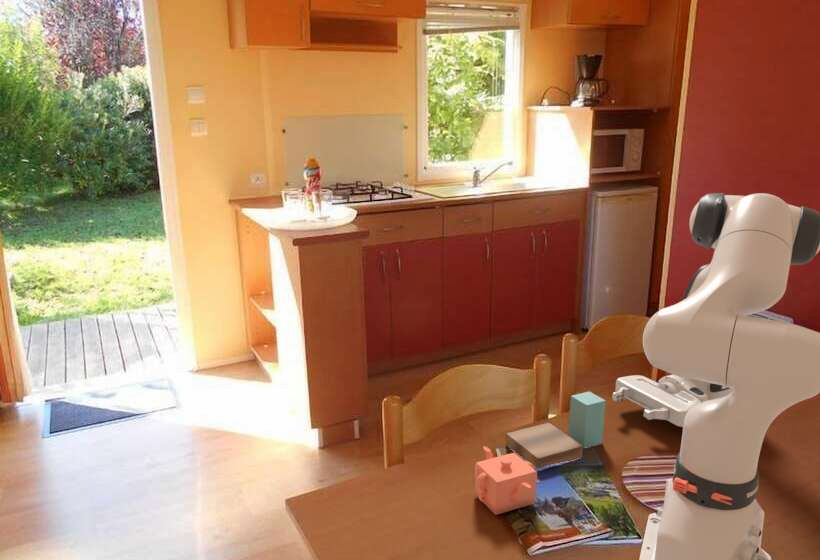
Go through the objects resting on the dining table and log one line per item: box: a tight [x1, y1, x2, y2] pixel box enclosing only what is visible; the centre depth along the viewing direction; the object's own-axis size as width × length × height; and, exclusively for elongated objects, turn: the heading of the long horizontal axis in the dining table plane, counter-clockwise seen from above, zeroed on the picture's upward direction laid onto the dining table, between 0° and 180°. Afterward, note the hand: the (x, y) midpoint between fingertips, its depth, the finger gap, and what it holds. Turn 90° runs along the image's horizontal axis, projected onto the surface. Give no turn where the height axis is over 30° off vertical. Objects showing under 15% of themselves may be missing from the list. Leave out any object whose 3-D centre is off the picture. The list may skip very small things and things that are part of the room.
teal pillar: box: [567, 390, 607, 448], centre depth 136 cm, size 5×5×10 cm
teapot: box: [474, 446, 538, 516], centre depth 116 cm, size 12×15×8 cm
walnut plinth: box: [505, 422, 584, 469], centre depth 133 cm, size 11×11×3 cm
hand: (629, 406), depth 141 cm, fingers open, 8 cm apart
